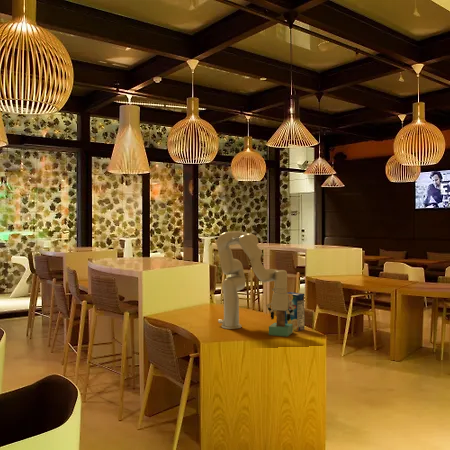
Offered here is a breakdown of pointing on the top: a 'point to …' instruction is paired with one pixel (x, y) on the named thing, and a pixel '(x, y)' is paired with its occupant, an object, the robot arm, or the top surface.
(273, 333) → the green square frame
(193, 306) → the top surface
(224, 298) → the robot arm
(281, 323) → the long wooden beam
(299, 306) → the beverage box
